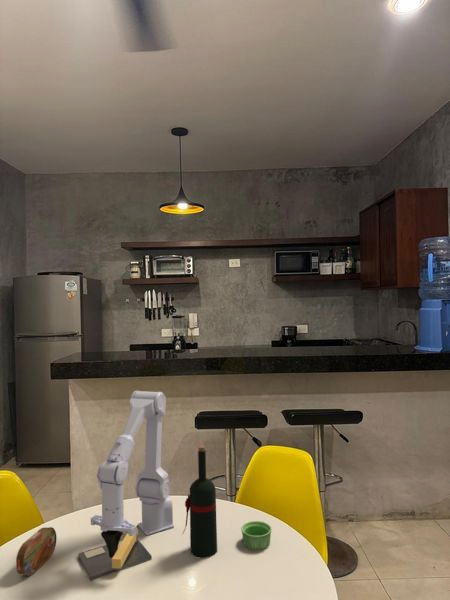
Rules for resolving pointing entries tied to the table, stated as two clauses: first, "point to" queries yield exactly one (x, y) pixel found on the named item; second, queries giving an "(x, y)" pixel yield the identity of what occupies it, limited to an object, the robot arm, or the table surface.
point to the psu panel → (101, 563)
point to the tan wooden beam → (124, 550)
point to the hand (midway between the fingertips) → (113, 555)
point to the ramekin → (256, 535)
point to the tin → (36, 551)
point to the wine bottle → (202, 512)
